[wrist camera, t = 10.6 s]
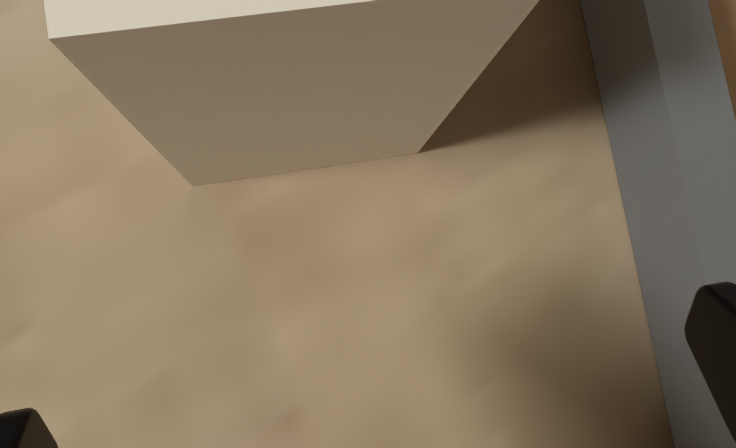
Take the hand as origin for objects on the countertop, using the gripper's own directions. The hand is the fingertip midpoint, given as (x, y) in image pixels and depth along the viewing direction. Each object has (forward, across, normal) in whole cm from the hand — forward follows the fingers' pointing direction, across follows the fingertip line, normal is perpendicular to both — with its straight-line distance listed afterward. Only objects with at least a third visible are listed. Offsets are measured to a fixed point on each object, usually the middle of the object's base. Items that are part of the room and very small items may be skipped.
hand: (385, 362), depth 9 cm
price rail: (+9, -9, +3) cm, 13 cm away
